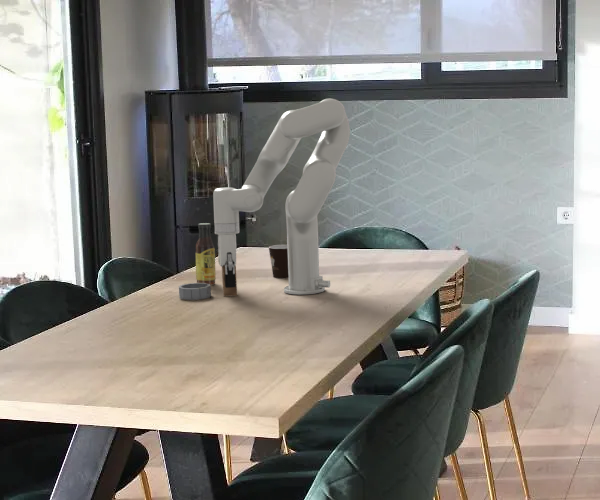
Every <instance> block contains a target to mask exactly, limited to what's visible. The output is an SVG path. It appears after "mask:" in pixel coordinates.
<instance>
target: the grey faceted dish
mask: <svg viewBox="0 0 600 500" xmlns="http://www.w3.org/2000/svg"><path fill="white" fill-rule="evenodd" d="M211 286H212V285H210V284H207V283H197V282H191V283H183V284H180V285H178V298H179V299H180V300H184V299H185V301H188V300H189V301H197V300H199V299H200V300H205V299H209V298H210V297H211V296H212V290H211V289H212V287H211Z"/></svg>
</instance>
